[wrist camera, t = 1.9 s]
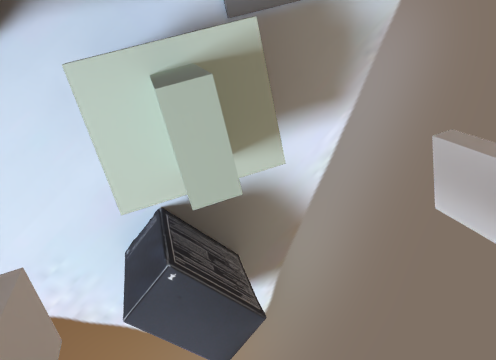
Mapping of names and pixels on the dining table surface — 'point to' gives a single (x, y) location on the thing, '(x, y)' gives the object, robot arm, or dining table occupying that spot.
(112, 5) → the dining table surface
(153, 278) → the small box
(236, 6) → the mat
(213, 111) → the lid
